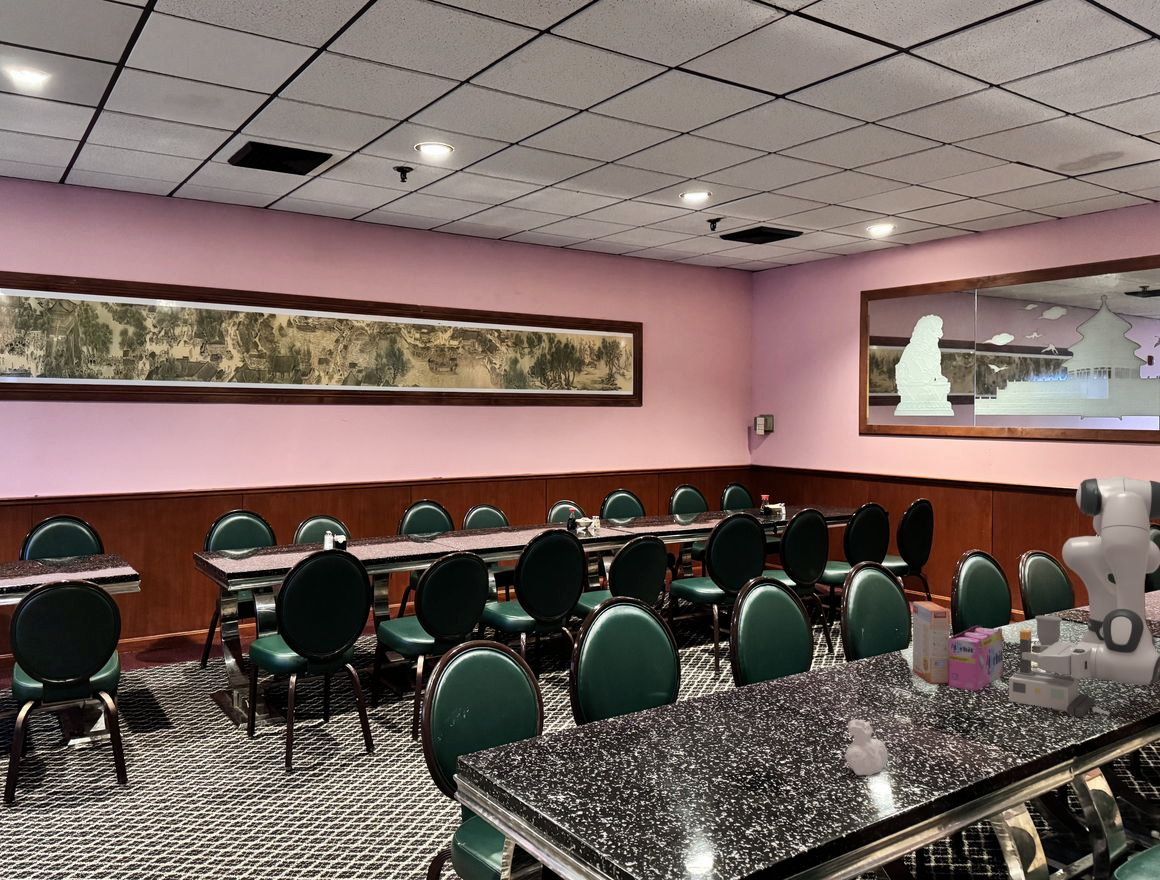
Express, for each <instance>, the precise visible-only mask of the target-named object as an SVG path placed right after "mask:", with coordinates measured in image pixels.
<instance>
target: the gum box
mask: <svg viewBox="0 0 1160 880" xmlns="http://www.w3.org/2000/svg"><path fill="white" fill-rule="evenodd" d="M1003 643H1004V642H1003V628H1001V627H999V628H998V629H997V630H995V629H992V628H985V627H984V628H983V626H982V625H978V624H977V625H975V626H971V627H970V628H968V629H966V630H964V631H962V632H960V633H958V634H957V633H956V634H955V635H953V636H951V637H949V683H948V687H952V688H957V689H961V690H969V691H974V692H976V691H979V690H980V689H982V688H984V687H986V686H987V685H989V684H991V683H993V682H994V681H995V680H998V679H999V678H1000V677H1002V676H1004V651H1003V648H1004V647H1003Z"/></svg>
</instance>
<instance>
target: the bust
mask: <svg viewBox="0 0 1160 880" xmlns="http://www.w3.org/2000/svg"><path fill="white" fill-rule="evenodd" d="M870 724H871V721H870V720H869V721H864V720H863V719H856V718H855V719H854V718H852V719H851V720H850V721H848V723H847V730H848V732H849V736H850V737H854V739H853V740H852V742H851V744H849V746H848V747H847V749H846V750H845V754H844V759H845V760H846V763H847V766H848V767H849V769H851V770H853V772H854V773H855V775H856V776H868V777H871V776H872V775H874V774H878V773H881V772H882V771H883V769H884V767H885V766H886V765H887V763H888V759H889V758H888V757H889V754H888V751H887V747H886V745H885V743H884V742H883V741H882V740H880V739H876V738H870V737H871V736H872V733H874V729H873V727H871V726H872V725H870Z"/></svg>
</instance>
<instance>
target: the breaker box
mask: <svg viewBox="0 0 1160 880" xmlns="http://www.w3.org/2000/svg"><path fill="white" fill-rule="evenodd" d="M1031 671H1033V670H1032V669H1031ZM1034 671H1035V675H1034V676H1028V675H1022V674H1016V672H1015V673H1012V676H1010V677H1009V678H1008V702H1010V703H1011V702H1012V703H1018V704H1024V705H1028V704H1029V705H1030V706H1034V705H1035V706H1034V707H1040V706H1041V707H1040V708H1046V709H1051V708H1052V710H1056V711H1057V710H1058V711H1064V712H1067V707H1068V706H1069V705H1070V704H1071V703H1072V702H1074V701H1075V700H1076V699H1077V698H1078V697H1079V679H1076V678H1072V677H1071V675H1064V674H1059V673H1054V674H1051V673H1045V672H1046V671H1038V670H1034Z"/></svg>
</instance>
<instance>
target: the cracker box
mask: <svg viewBox="0 0 1160 880" xmlns="http://www.w3.org/2000/svg"><path fill="white" fill-rule="evenodd" d="M950 611H951V610H949V609H947V608H946V607H944V606H941V605H939V604H936V603H934V602H933V601H913V602H912V672H913V673H915V674H917V675H918V676H919V677H921V678H922V679H924V680H925V681H926V682H927V683H929V684H949V638H950V631H951V630H950V628H951V627H950V625H951V624H950V622H951V620H950V619H951V618H950V616H951V615H950V614H951V613H950Z"/></svg>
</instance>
